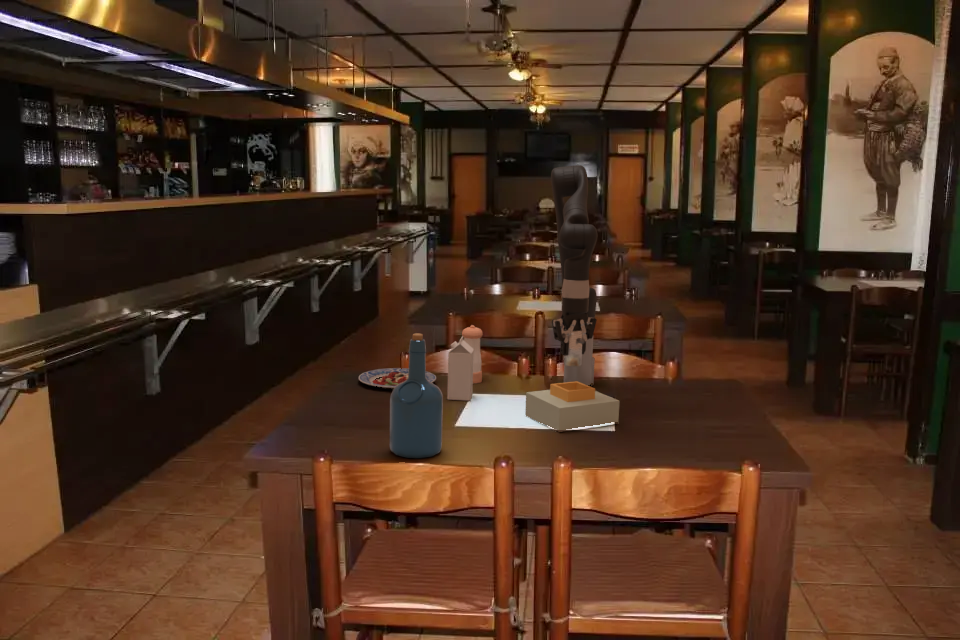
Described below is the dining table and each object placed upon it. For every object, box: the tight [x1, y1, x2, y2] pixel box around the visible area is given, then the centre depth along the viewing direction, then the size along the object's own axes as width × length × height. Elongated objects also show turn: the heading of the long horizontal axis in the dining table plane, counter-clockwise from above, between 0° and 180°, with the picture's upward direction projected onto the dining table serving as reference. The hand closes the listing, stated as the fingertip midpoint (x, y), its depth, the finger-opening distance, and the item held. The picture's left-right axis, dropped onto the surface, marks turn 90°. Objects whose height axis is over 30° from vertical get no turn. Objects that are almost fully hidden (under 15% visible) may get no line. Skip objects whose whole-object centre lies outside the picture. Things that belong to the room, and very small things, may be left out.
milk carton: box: [447, 335, 474, 401], centre depth 259 cm, size 7×7×19 cm
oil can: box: [563, 330, 585, 366], centre depth 235 cm, size 7×5×10 cm
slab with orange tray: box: [524, 381, 620, 430], centre depth 239 cm, size 20×19×10 cm
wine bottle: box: [389, 332, 444, 459], centre depth 206 cm, size 14×13×30 cm
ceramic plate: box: [358, 367, 437, 390], centre depth 277 cm, size 26×26×3 cm
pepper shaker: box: [461, 324, 484, 384], centre depth 281 cm, size 7×7×19 cm
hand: (572, 354), depth 237 cm, fingers closed on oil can, 5 cm apart
